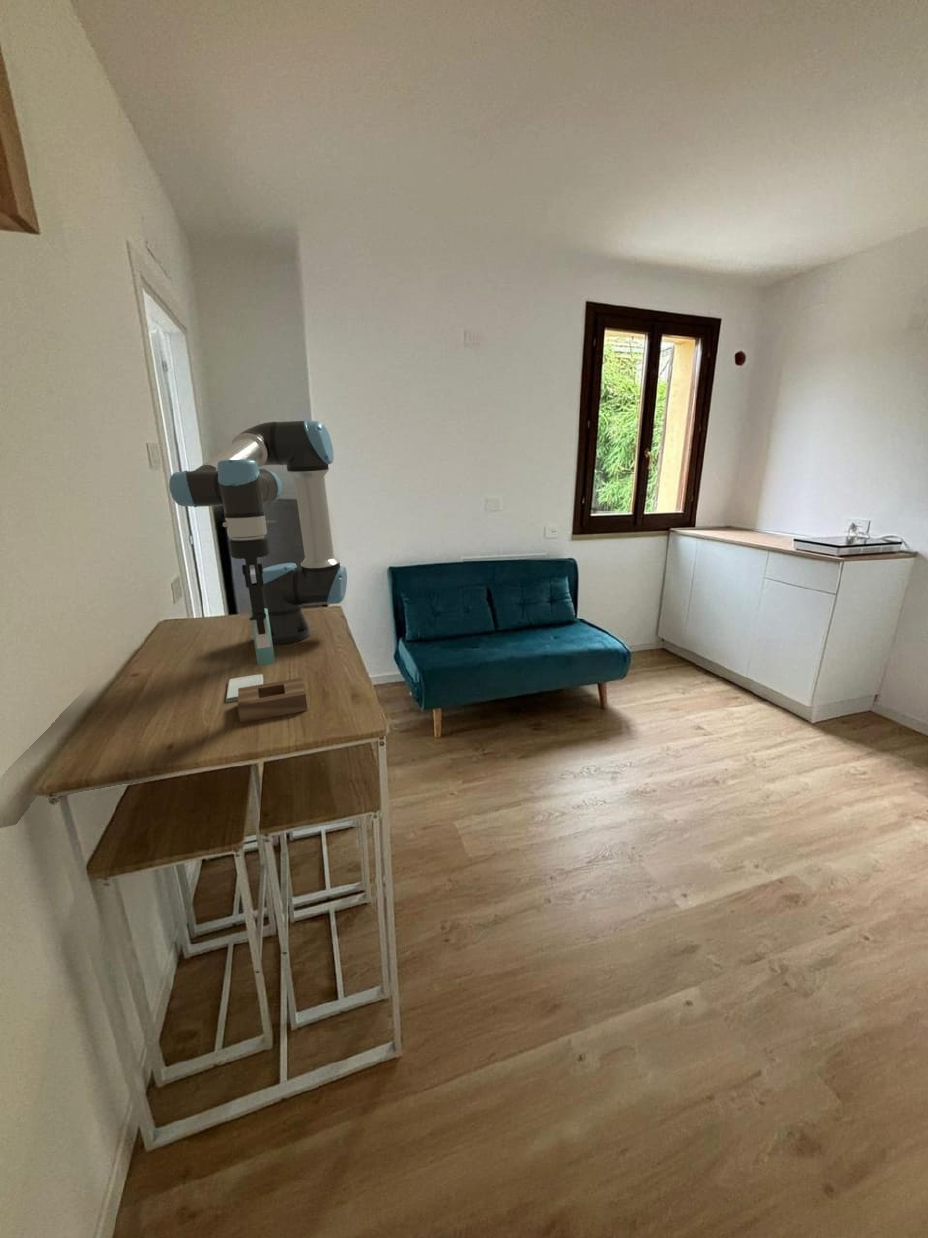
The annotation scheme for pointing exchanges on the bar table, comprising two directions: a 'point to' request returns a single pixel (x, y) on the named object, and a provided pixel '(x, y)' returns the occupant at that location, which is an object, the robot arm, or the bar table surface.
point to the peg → (264, 654)
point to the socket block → (271, 700)
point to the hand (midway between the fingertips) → (263, 644)
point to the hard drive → (241, 685)
